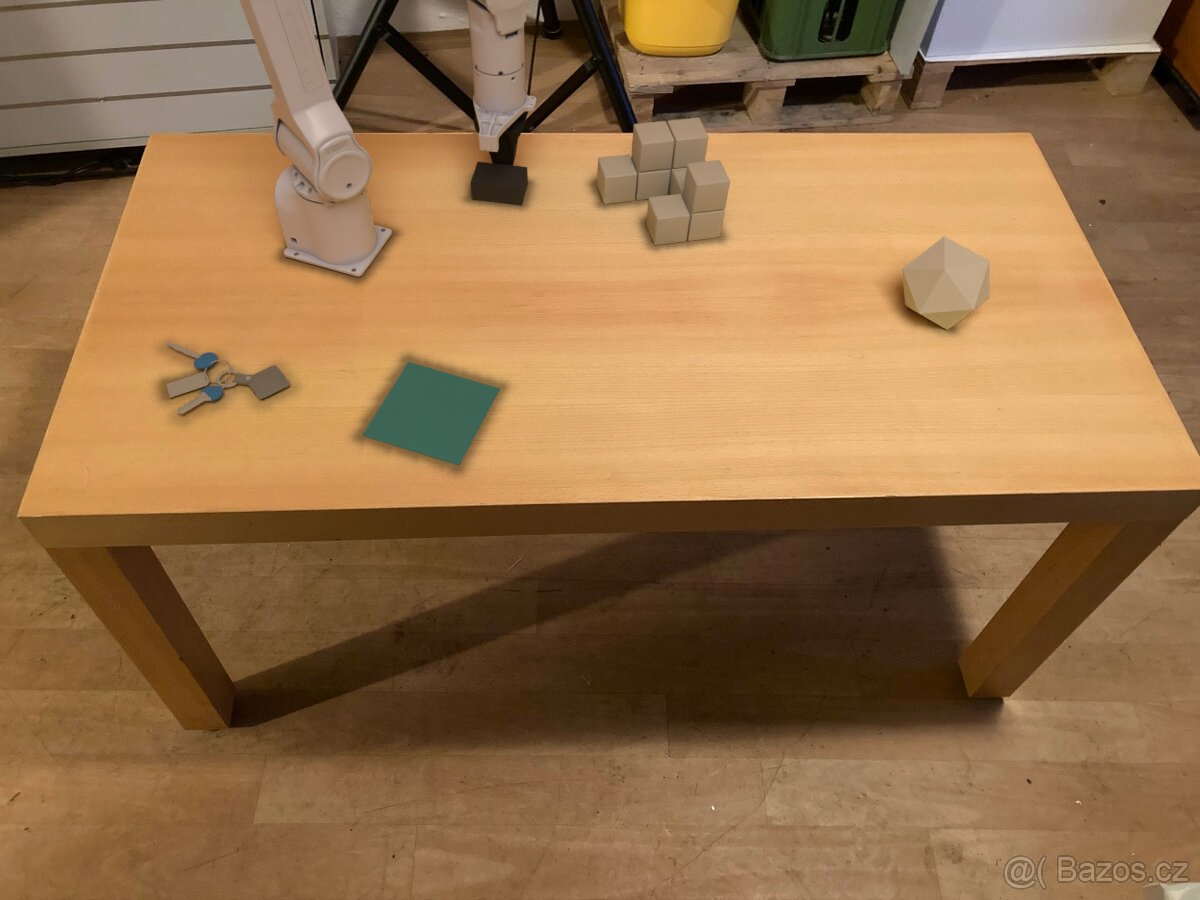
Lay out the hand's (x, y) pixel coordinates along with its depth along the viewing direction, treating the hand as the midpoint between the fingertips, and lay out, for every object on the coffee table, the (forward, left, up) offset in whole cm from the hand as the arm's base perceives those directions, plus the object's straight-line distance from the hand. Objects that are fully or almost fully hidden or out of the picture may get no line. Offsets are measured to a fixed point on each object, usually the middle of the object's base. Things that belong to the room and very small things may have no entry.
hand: (503, 166), depth 109 cm
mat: (+7, -36, -2) cm, 37 cm away
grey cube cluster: (+19, +1, -2) cm, 19 cm away
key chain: (-14, -41, -1) cm, 43 cm away
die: (+52, -4, -2) cm, 52 cm away
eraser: (+1, -3, -1) cm, 3 cm away
